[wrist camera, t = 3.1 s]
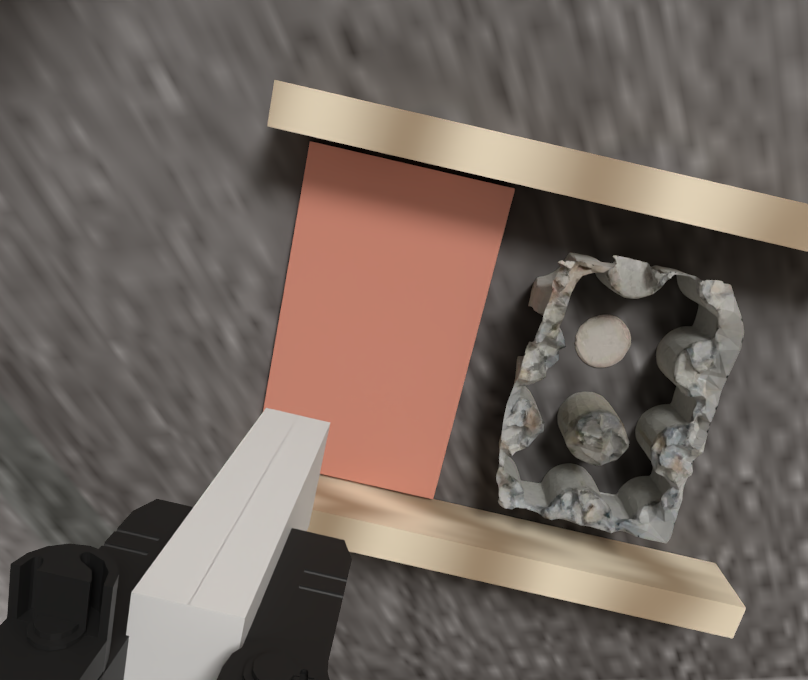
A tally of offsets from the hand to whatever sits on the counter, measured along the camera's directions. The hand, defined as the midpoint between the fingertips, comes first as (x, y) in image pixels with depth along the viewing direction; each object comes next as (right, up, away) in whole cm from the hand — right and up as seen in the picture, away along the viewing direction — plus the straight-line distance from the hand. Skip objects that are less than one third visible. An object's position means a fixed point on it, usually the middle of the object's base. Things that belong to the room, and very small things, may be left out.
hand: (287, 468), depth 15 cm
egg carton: (+11, +1, +12) cm, 16 cm away
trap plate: (+2, +3, +12) cm, 12 cm away
